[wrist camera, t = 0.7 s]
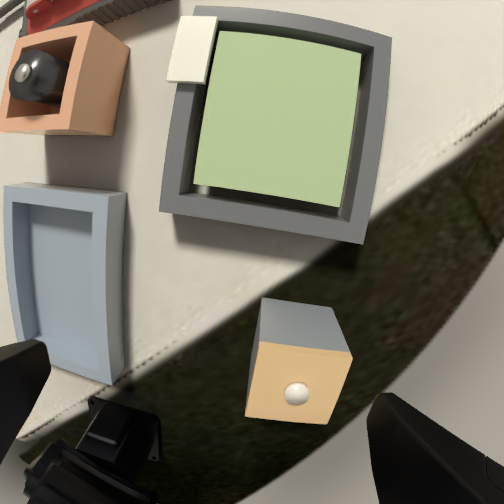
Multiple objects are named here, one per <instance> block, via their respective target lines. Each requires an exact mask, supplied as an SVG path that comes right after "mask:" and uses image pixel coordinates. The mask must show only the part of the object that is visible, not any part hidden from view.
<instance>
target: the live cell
mask: <svg viewBox="0 0 504 504" xmlns="http://www.w3.org/2000/svg"><path fill="white" fill-rule="evenodd" d="M352 359H353V358H352V356H351V353H350V351H349V348H348V346H347V343H346V341H345V339H344V336H343V334H342V331H341V329H340V326H339V324H338V322H337V319H336V317H335V314H334V312H333V310H332V308H331V307H323V306H316V305H309V304H302V303H295V302H288V301H282V300H275V299H269V298H262V300H261V305H260V311H259V316H258V322H257V327H256V333H255V338H254V343H253V349H252V354H251V362H250V372H249V381H248V391H247V401H246V410H245V416H247V417H254V418H262V419H270V420H279V421H289V422H300V423H314V424H327V423H328V421H329V419H330V416H331V414H332V411H333V409H334V407H335V404H336V402H337V399H338V397H339V394H340V392H341V389H342V386H343V384H344V381H345V378H346V376H347V373H348V370H349V368H350V365H351V362H352Z"/></svg>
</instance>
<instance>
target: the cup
mask: <svg viewBox="0 0 504 504" xmlns="http://www.w3.org/2000/svg"><path fill="white" fill-rule="evenodd" d="M33 49H38V50H40V51H43V52H45V53H48V54H50V55H52V56H55V57H57V58H59V59H62V60H64V61H66V62H69V63H70V65H69V69H68V73H67V78H66V82H65V87H64V92H63V97H62V102H61V108H59V107H54V106H49V105H44V104H39V103H34V102H29V101H24V100H18V99H15V98H13V97H12V96H11V94H10V91H9V78H10V74H11V71H12V69H13V67H14V65H15V63H16V62H17V61H18V59H19V58H20V57H21V56H22V55H23V54H24V53H26V52H27V51H29V50H33ZM129 51H130V48H129V47H128V46H126V45H125V44H124V43H123V42H121V41H120V40H119V39H117V38H116V37H115V36H114V35H112V34H111V33H110V32H108V31H107V30H106V29H104V28H103V27H102V26H100V25H99V24H98V23H96V22H95V21H88V22H83V23H77V24H72V25H67V26H63V27H58V28H54V29H50V30H46V31H42V32H38V33H34V34H31V35H27V36H24V37H20V38H17V40H16V44H15V47H14V51H13V54H12V58H11V61H10V65H9V69H8V73H7V77H6V82H5V86H4V91H3V96H2V101H1V107H0V133H18V134H34V135H103V136H113V132H114V125H115V119H116V113H117V107H118V102H119V96H120V91H121V86H122V81H123V77H124V72H125V68H126V63H127V59H128V55H129Z"/></svg>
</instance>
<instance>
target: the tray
mask: <svg viewBox="0 0 504 504" xmlns="http://www.w3.org/2000/svg"><path fill="white" fill-rule="evenodd" d="M126 199H127V193H125V192H116V191H107V190H98V189H89V188H79V187H69V186H59V185H48V184H37V183H19V184H12V185H6V186H4V206H3V216H4V246H5V261H6V272H7V281H8V290H9V297H10V304H11V310H12V316H13V322H14V327H15V332H16V337H17V342H22V341H26V340H29V339H37V340H40V341H43V342H44V343H45V344H46V346H47V350H48V354H49V359H50V364H52V365H54V366H57V367H60V368H62V369H65V370H67V371H70V372H73V373H76V374H78V375H81V376H84V377H87V378H90V379H93V380H96V381H99V382H102V383H105V384H108V385H113V383H114V382H115V380H116V379H117V377H118V376H119V374H120V373H121V372H122V370H123V369H124V367H125V365H124V347H123V319H122V272H123V243H124V225H125V211H126Z"/></svg>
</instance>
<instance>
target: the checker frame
mask: <svg viewBox="0 0 504 504" xmlns="http://www.w3.org/2000/svg"><path fill="white" fill-rule="evenodd" d="M220 31H229V32H242V33H252V34H261V35H269V36H277V37H283V38H290V39H296V40H302V41H307V42H312V43H317V44H322V45H327V46H331V47H336V48H340V49H344V50H348V51H352V52H356V53H360V54H361V58H363V59H364V60H363V70H362V80H361V89H360V98H359V106H358V114H357V121H356V128H355V135H354V142H353V149H352V155H351V161H350V167H349V173H348V179H347V185H346V190H345V196H344V201H343V207H342V212H341V217H339V216H334V215H328V214H323V213H317V212H312V211H306V210H301V209H295V208H289V207H283V206H277V205H271V204H265V203H259V202H253V201H246V200H240V199H233V198H226V197H220V196H213V195H206V194H198V193H191V192H189V187H190V179H191V172H192V165H193V158H194V151H195V144H196V138H197V131H198V125H199V119H200V113H201V107H202V102H203V96H204V90H205V85H206V80H207V74H208V69H209V64H210V59H211V54H212V50H213V45H214V40H215V36H216V35H219V32H220ZM391 45H392V38H391V37H388V36H385V35H382V34H379V33H376V32H372V31H369V30H365V29H362V28H358V27H354V26H350V25H347V24H342V23H338V22H334V21H330V20H325V19H320V18H315V17H310V16H304V15H299V14H293V13H286V12H279V11H271V10H263V9H253V8H241V7H225V6H195V9H194V13H193V16H181V18H180V21H179V25H178V29H177V33H176V37H175V41H174V46H173V50H172V54H171V59H170V63H169V68H168V73H167V77H166V81H167V82H169V83H178V84H177V89H176V94H175V99H174V105H173V111H172V117H171V123H170V129H169V135H168V142H167V149H166V156H165V163H164V171H163V179H162V187H161V196H160V206H159V212H166V213H173V214H179V215H186V216H193V217H200V218H206V219H213V220H219V221H226V222H232V223H239V224H245V225H251V226H258V227H264V228H270V229H276V230H282V231H288V232H294V233H300V234H306V235H312V236H317V237H323V238H329V239H335V240H340V241H346V242H351V243H357V244H362V245H363V243H364V238H365V234H366V229H367V224H368V219H369V215H370V210H371V204H372V199H373V194H374V188H375V183H376V177H377V171H378V165H379V159H380V152H381V146H382V138H383V131H384V123H385V115H386V106H387V97H388V87H389V75H390V62H391Z"/></svg>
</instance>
